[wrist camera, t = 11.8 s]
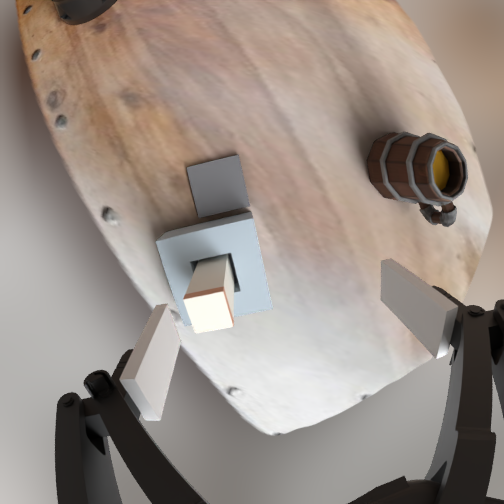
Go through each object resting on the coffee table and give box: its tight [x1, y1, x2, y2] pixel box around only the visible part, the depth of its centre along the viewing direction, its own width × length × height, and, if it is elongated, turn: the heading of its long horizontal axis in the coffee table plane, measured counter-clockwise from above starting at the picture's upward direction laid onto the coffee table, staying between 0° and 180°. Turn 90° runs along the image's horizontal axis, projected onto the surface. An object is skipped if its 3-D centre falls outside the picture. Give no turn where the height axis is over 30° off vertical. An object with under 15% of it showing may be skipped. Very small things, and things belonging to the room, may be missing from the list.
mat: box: [187, 155, 250, 218], centre depth 41 cm, size 8×8×1 cm
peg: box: [183, 253, 234, 334], centre depth 36 cm, size 4×4×14 cm
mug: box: [367, 132, 468, 227], centre depth 35 cm, size 16×12×15 cm
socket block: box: [156, 212, 273, 326], centre depth 42 cm, size 14×14×6 cm
